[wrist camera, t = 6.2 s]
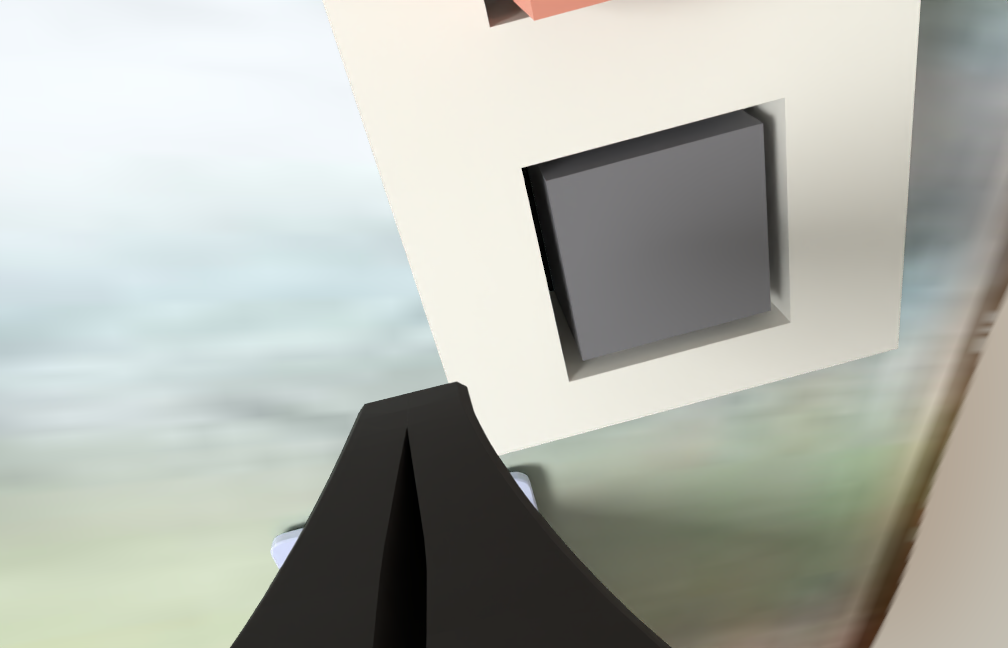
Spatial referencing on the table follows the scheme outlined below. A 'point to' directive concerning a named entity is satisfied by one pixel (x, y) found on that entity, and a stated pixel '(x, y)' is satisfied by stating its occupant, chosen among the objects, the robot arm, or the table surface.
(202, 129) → the table surface
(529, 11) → the middle knob
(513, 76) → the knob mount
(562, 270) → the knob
